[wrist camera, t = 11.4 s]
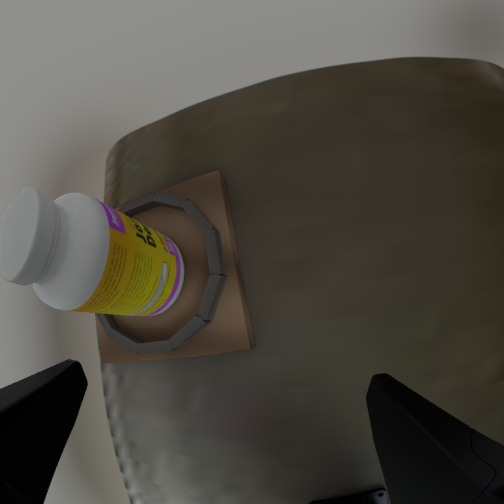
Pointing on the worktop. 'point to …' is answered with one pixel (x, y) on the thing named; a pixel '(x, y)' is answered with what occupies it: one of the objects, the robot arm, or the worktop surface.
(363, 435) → the worktop surface
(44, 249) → the supplement bottle
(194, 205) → the locating board
